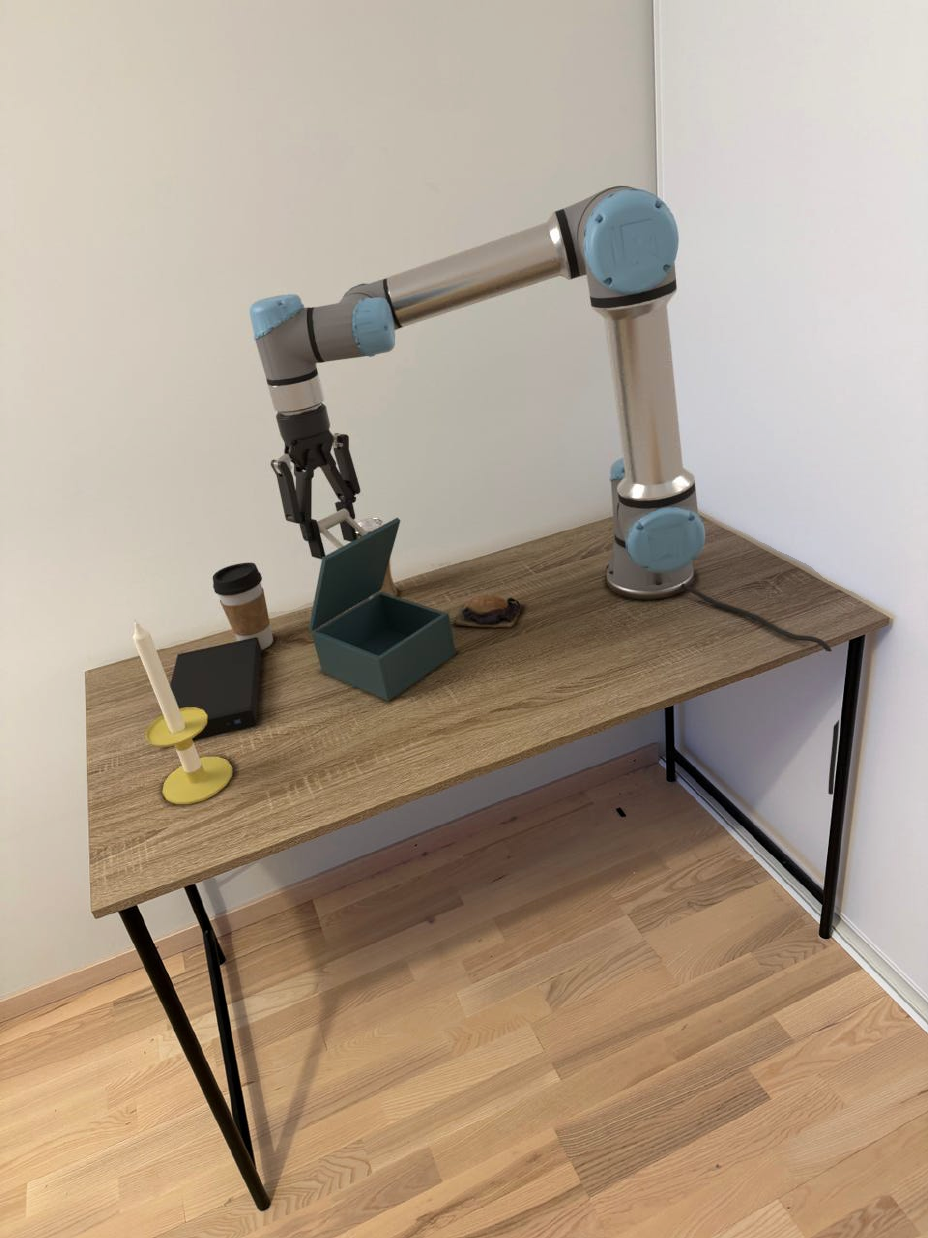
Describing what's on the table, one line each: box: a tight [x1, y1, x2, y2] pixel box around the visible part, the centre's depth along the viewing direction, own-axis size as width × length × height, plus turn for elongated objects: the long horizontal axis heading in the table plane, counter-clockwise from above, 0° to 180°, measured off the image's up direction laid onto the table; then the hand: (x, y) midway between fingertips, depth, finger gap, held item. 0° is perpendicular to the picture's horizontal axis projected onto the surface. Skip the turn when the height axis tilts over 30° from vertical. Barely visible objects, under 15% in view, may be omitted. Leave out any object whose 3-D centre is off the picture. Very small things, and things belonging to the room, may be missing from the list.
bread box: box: [310, 591, 457, 702], centre depth 139 cm, size 17×16×8 cm
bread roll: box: [455, 593, 523, 629], centre depth 148 cm, size 11×8×4 cm
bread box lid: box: [308, 509, 401, 632], centre depth 136 cm, size 17×16×8 cm
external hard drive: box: [169, 637, 262, 741], centre depth 139 cm, size 14×23×3 cm, turn 11°
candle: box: [132, 617, 233, 805], centre depth 114 cm, size 10×10×27 cm
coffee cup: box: [212, 562, 274, 651], centre depth 149 cm, size 8×8×15 cm
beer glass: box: [355, 517, 398, 599], centre depth 159 cm, size 7×7×15 cm
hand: (335, 548), depth 136 cm, fingers closed on bread box lid, 6 cm apart
